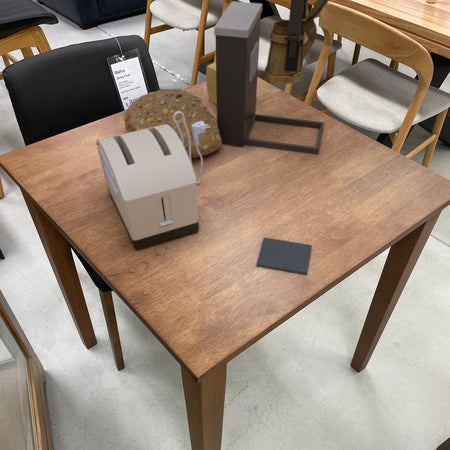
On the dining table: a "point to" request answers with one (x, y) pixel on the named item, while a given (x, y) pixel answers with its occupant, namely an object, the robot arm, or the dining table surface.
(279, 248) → the mat
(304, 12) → the robot arm
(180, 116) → the bread
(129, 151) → the toaster
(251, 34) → the coffee maker
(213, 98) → the cheese
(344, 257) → the dining table surface
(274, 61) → the wooden mug
